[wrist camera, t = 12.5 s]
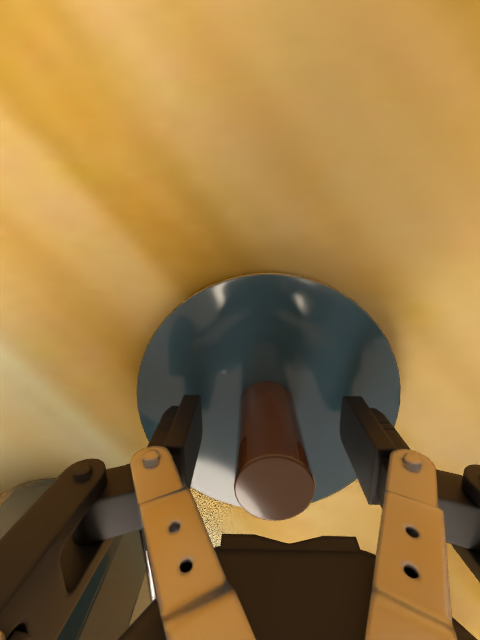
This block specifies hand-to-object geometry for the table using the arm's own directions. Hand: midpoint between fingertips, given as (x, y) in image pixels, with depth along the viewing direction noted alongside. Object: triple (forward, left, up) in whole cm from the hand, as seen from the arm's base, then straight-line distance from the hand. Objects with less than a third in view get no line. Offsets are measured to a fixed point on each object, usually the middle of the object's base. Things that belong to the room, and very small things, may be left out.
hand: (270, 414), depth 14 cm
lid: (0, 0, -1) cm, 1 cm away
